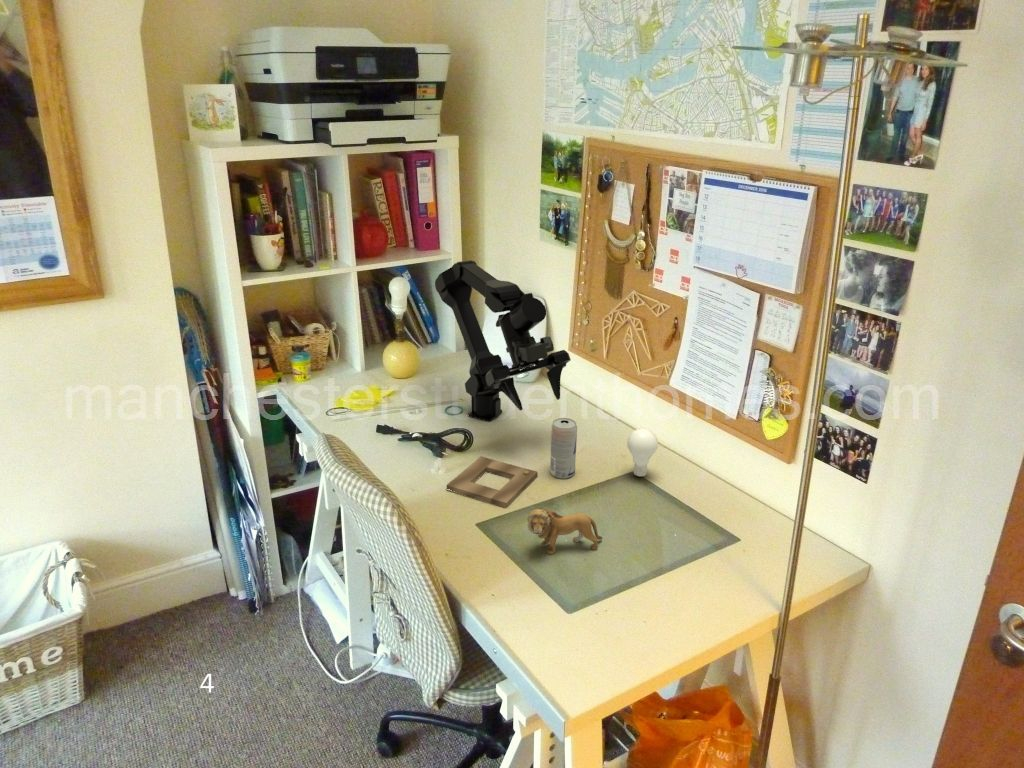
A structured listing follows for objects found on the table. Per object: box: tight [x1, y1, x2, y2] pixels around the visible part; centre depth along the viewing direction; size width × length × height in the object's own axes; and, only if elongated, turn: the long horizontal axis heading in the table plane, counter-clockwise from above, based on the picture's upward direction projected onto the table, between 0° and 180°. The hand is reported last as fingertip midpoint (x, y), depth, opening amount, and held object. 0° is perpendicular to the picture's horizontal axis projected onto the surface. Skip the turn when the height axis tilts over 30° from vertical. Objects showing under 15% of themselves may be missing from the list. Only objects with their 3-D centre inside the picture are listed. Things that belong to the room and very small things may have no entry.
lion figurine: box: [527, 507, 604, 555], centre depth 137 cm, size 15×5×9 cm, turn 108°
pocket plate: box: [446, 456, 539, 509], centre depth 158 cm, size 14×14×2 cm
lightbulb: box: [627, 427, 659, 478], centre depth 160 cm, size 6×6×11 cm
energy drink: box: [549, 417, 578, 480], centre depth 160 cm, size 5×5×12 cm
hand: (540, 404), depth 165 cm, fingers open, 9 cm apart
